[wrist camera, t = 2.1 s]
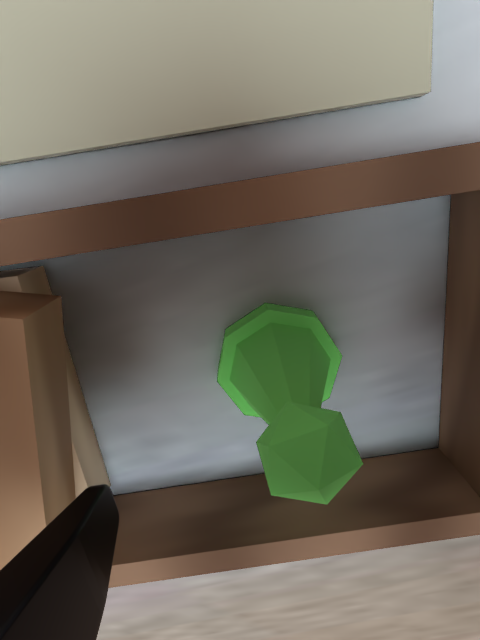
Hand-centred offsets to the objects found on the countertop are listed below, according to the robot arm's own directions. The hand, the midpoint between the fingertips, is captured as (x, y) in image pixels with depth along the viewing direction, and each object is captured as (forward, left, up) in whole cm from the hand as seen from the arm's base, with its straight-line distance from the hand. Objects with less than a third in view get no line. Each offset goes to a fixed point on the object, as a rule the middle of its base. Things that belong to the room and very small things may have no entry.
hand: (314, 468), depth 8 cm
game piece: (0, 0, -6) cm, 6 cm away
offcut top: (+9, 0, -4) cm, 9 cm away
